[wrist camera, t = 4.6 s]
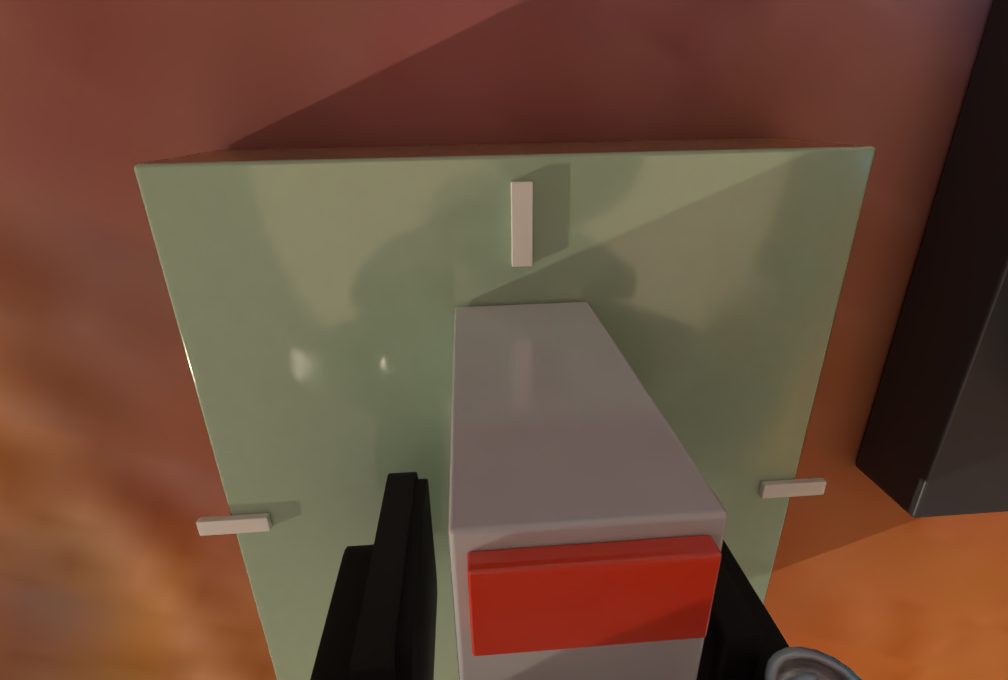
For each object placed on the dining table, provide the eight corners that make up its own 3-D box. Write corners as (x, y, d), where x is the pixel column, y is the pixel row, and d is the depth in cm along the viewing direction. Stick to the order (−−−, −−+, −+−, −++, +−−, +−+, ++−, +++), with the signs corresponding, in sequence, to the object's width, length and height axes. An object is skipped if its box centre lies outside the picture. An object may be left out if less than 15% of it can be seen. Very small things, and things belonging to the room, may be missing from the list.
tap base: (716, 599, 17) (767, 698, 14) (299, 631, 16) (265, 743, 14) (806, 136, 12) (920, 146, 9) (183, 150, 11) (82, 165, 8)
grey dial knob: (571, 646, 13) (646, 1004, 8) (474, 654, 13) (484, 1024, 8) (588, 300, 10) (744, 534, 4) (454, 306, 9) (446, 554, 4)
